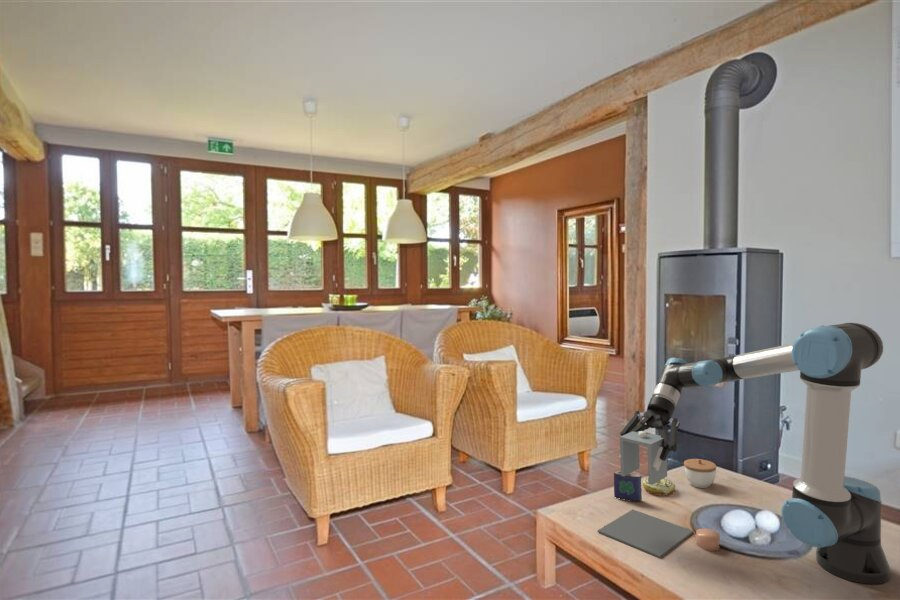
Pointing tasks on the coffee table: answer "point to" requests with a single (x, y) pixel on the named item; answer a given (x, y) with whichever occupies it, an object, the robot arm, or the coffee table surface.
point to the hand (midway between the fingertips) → (638, 464)
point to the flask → (627, 486)
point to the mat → (646, 533)
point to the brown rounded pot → (708, 539)
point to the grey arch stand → (631, 454)
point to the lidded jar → (700, 472)
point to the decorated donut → (660, 487)
